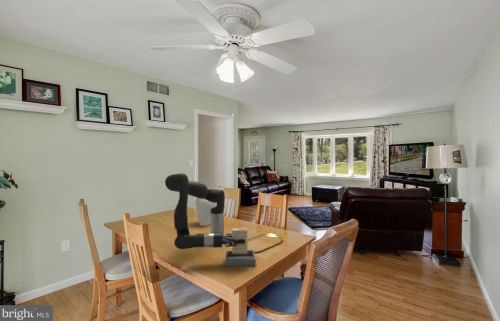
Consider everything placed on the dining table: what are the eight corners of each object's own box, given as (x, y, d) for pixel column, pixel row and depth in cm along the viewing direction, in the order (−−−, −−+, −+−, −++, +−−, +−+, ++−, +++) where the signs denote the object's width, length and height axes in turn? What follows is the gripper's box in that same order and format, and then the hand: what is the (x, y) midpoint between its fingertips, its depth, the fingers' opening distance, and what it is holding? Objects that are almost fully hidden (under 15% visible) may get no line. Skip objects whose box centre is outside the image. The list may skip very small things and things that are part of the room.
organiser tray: (226, 256, 136) (226, 250, 136) (253, 255, 137) (253, 249, 137) (225, 266, 125) (225, 260, 125) (255, 265, 126) (255, 259, 126)
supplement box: (247, 250, 133) (247, 227, 133) (247, 254, 128) (247, 230, 128) (232, 250, 133) (232, 227, 132) (231, 254, 128) (232, 230, 128)
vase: (200, 228, 187) (199, 191, 186) (192, 224, 198) (191, 189, 197) (216, 224, 196) (216, 189, 195) (208, 220, 207) (207, 187, 206)
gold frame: (288, 240, 161) (288, 238, 161) (251, 257, 137) (251, 254, 137) (267, 234, 175) (267, 231, 175) (230, 247, 150) (230, 245, 150)
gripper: (212, 238, 122) (245, 237, 123) (214, 229, 137) (244, 228, 138) (212, 252, 122) (245, 251, 124) (214, 242, 137) (244, 241, 138)
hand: (244, 239), depth 131 cm, fingers closed on supplement box, 5 cm apart
